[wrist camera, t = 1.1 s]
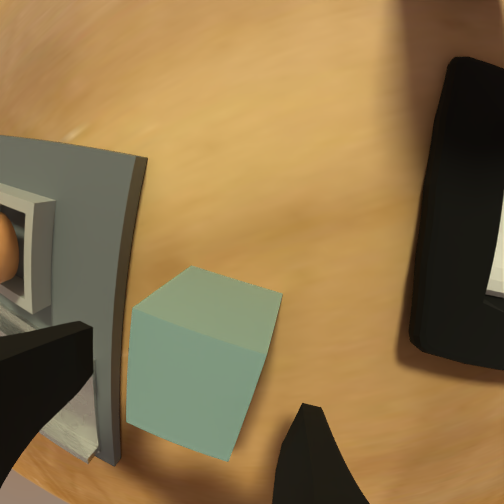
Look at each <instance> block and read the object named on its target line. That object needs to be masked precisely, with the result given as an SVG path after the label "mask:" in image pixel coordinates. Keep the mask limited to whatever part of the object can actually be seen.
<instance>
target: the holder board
mask: <svg viewBox="0 0 504 504" xmlns="http://www.w3.org/2000/svg"><path fill="white" fill-rule="evenodd" d="M146 163H147V158H146V157H141V156H136V155H131V154H125V153H120V152H114V151H109V150H103V149H97V148H92V147H86V146H79V145H73V144H66V143H60V142H53V141H46V140H38V139H30V138H22V137H14V136H5V135H0V183H2V184H5V185H8V186H12V187H15V188H18V189H21V190H24V191H28V192H31V193H34V194H37V195H40V196H44V197H47V198H50V199H53V200H56V205H55V214H54V225H53V238H52V255H51V305H50V306H48V307H46V308H44V309H42V310H40V311H38V312H36V313H34V314H31V313H29V312H28V311H26V310H25V309H23V308H22V307H20V306H18V305H17V304H15V303H14V302H12V301H11V300H9V299H8V298H6V297H5V296H3V295H2V294H1V293H0V302H1V303H3V304H4V305H6V306H7V307H9V308H10V309H11V310H13V311H14V312H16V313H17V314H19V315H20V316H22V317H23V318H25V319H26V320H28V321H30V322H31V323H33V324H34V325H36V326H37V327H39V328H41V329H42V328H47V327H51V326H55V325H60V324H64V323H69V322H75V321H81V322H83V323H85V324H87V325H89V326H92V327H93V358H94V359H95V361H96V393H97V409H98V422H99V433H100V442H101V452H100V453H97V454H96V455H95V456H96V457H98V458H99V459H101V460H103V461H105V462H107V463H109V464H111V465H113V466H116V464H117V463H118V461H119V460H120V459H121V450H120V417H119V393H120V358H121V339H122V325H123V312H124V302H125V292H126V282H127V274H128V266H129V258H130V251H131V244H132V237H133V231H134V225H135V219H136V213H137V207H138V202H139V197H140V191H141V186H142V181H143V177H144V172H145V167H146ZM1 212H2V213H4V214H5V215H6V216H7V217H8V218H9V220H10V221H11V223H12V225H13V227H14V230H15V233H16V236H17V240H18V246H19V265H18V269H17V272H16V274H15V275H16V276H18V277H20V278H22V279H23V280H24V234H25V217H26V214H25V213H23V212H20V211H18V210H15V209H13V208H10V207H7V206H5V205H2V204H1Z"/></svg>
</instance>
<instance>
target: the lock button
mask: <svg viewBox="0 0 504 504" xmlns="http://www.w3.org/2000/svg"><path fill="white" fill-rule="evenodd" d="M18 265H19V246H18V240H17V236H16V233H15V230H14V227H13V225H12V223H11V221H10V220H9V218H8V217H7V216H6V215H5V214H4V213H2V212H0V283H3V282H5V281H8V280H10V279H12V278H13V277H14V276H15V274H16V272H17V269H18Z"/></svg>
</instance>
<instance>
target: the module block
mask: <svg viewBox="0 0 504 504" xmlns="http://www.w3.org/2000/svg"><path fill="white" fill-rule="evenodd" d="M282 295H283V294H282V293H279V292H276V291H272V290H269V289H266V288H262V287H259V286H256V285H252V284H249V283H246V282H243V281H239V280H236V279H233V278H230V277H226V276H223V275H220V274H217V273H213V272H210V271H207V270H204V269H201V268H198V267H194V266H190V267H188V268H187V269H186V270H184V271H183V272H181V273H180V274H179V275H177V276H176V277H174V278H173V279H172V280H170V281H169V282H167V283H166V284H165V285H163V286H162V287H161V288H159V289H158V290H156V291H155V292H154V293H152V294H151V295H149V296H148V297H147V298H145V299H144V300H143V301H141V302H140V303H138V304H137V305H136V306H134V307H133V308H132V318H131V329H130V341H129V355H128V373H127V400H126V422H127V423H129V424H132V425H134V426H136V427H138V428H140V429H142V430H145V431H147V432H149V433H151V434H154V435H156V436H158V437H161V438H163V439H166V440H168V441H170V442H173V443H176V444H178V445H181V446H183V447H186V448H189V449H191V450H194V451H197V452H200V453H203V454H205V455H208V456H211V457H214V458H218V459H221V460H224V461H227V462H228V461H229V459H230V456H231V453H232V451H233V448H234V445H235V443H236V440H237V437H238V435H239V432H240V429H241V427H242V424H243V421H244V418H245V416H246V413H247V410H248V407H249V405H250V402H251V399H252V396H253V393H254V391H255V388H256V385H257V382H258V379H259V376H260V373H261V370H262V368H263V365H264V362H265V359H266V356H267V352H268V349H269V345H270V341H271V337H272V334H273V330H274V326H275V322H276V318H277V314H278V310H279V307H280V303H281V299H282Z"/></svg>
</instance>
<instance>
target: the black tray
mask: <svg viewBox="0 0 504 504" xmlns="http://www.w3.org/2000/svg"><path fill="white" fill-rule="evenodd" d="M409 337H410V342H411V343H412V344H413V345H414V346H416V347H417V348H418V349H419V350H421V351H422V352H425V353H429V354H432V355H436V356H439V357H443V358H446V359H450V360H453V361H457V362H461V363H465V364H470V365H475V366H481V367H487V368H492V369H498V370H504V69H503V68H500V67H498V66H495V65H492V64H489V63H486V62H483V61H480V60H477V59H474V58H471V57H455V58H453V59H452V61H451V62H450V63H449V65H448V67H447V72H446V76H445V80H444V85H443V89H442V93H441V97H440V101H439V105H438V109H437V112H436V116H435V120H434V126H433V134H432V141H431V147H430V154H429V160H428V165H427V171H426V176H425V181H424V188H423V200H422V211H421V220H420V229H419V237H418V244H417V251H416V258H415V272H414V285H413V297H412V307H411V316H410V324H409Z"/></svg>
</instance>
